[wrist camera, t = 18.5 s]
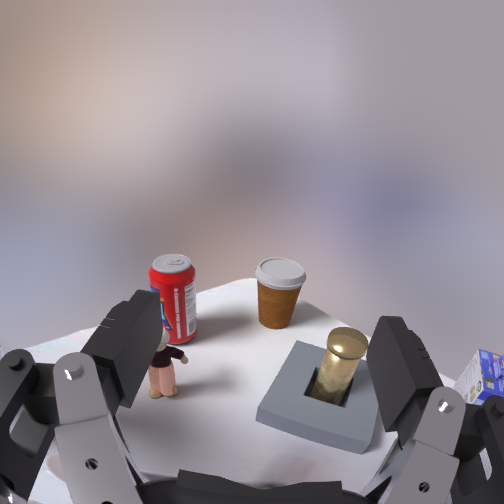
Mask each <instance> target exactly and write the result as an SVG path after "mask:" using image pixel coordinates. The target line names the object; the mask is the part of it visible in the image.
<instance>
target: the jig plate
mask: <svg viewBox="0 0 504 504" xmlns="http://www.w3.org/2000/svg"><path fill="white" fill-rule="evenodd" d="M326 350H327V349H324V348H320V347H317V346H314V345H311V344H307V343H304V342H301V341H298V340H297V341H296V343H295V345H294V346H293V348H292V350H291V352H290V354H289V355H288V357H287V359H286V361H285V362H284V364H283V366H282V368H281V369H280V371H279V373H278V375H277V376H276V378H275V380H274V381H273V383H272V385H271V386H270V388H269V390H268V391H267V393H266V395H265V396H264V398H263V400H262V401H261V403H260V404H259V406H258V409H257V415H256V421H258V422H260V423H263V424H266V425H268V426H271V427H273V428H276V429H279V430H282V431H284V432H287V433H290V434H293V435H296V436H299V437H302V438H305V439H308V440H311V441H314V442H318V443H321V444H324V445H328V446H331V447H335V448H338V449H342V450H346V451H350V452H354V453H358V454H362V453H363V452H364V451H365V450H366V448H367V447H368V446H369V445H370V443H371V440H372V436H373V431H374V427H375V422H376V417H377V412H378V407H379V405H378V401H377V397H376V393H375V390H374V386H373V382H372V379H371V375H370V372H369V368H368V365H367V361H365V360H362V359H360V361H359V363H358V366H357V368H356V370H355V373H354V375H353V377H352V379H351V381H350V383H349V386H348V388H347V390H346V392H347V396H346V399H345V403H344V406H343V407H340V406H337V405H333V404H330V403H326V402H323V401H320V400H317V399H314V398H311V397H307V396H305V394H306V392H307V389H308V387H309V385H310V383H311V381H313V382H316V379H317V376H318V373H319V370H320V367H321V365H322V362H323V359H324V356H325V353H326Z"/></svg>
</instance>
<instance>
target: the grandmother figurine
mask: <svg viewBox="0 0 504 504" xmlns="http://www.w3.org/2000/svg"><path fill="white" fill-rule="evenodd" d="M169 339H170V335H169V333H168V332H167V331H166V330H165V329H164V328H163V335H162V339H161V342H160V344H159V347H158V349H157V351H156V353H155V355H154V357H153V359H152V361H151V364H150V366H149V368H148V369H149V380H150V385H151V389H150V392H149V395H150V397H152V398H159V397H161V395H162V394H163V395H164V396H173V395H176V394H177V393H178V389H177V388H176V386H175V372H174V367H173V363H172V361H171V357H172V358H175V359H179V360H181V362H182V363H183V364H186V363H188V359H187V358H186V357H185V355H184V352H183V351H182V350H179V349H177V348H175V347H170V346H167V342H169Z"/></svg>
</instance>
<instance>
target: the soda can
mask: <svg viewBox="0 0 504 504" xmlns="http://www.w3.org/2000/svg"><path fill="white" fill-rule="evenodd" d="M148 275H149V286H150V291H151V292H157V293H159V296H160V304H161V313H162V322H163V328H164V329H165V330H166V331H167V332H168V333H169V335H170V339H169V342H167V343H171V344H180V343H185V342H187V341H189V340H191V339H192V338H193V337H194V336H195V334H196V332H197V318H196V282H195V280H196V279H195V269H194V267H193V266H192V265H191V260H190V259H189V258H188V257H186V256H183V255H180V254H165V255H162V256H159V257H157V258H155V259H154V260H153V261H152V266H151V268H150V270H149V272H148Z"/></svg>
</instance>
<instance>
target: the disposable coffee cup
mask: <svg viewBox="0 0 504 504" xmlns="http://www.w3.org/2000/svg"><path fill="white" fill-rule="evenodd" d="M255 274H256V277H257V284H258V309H259V321H260V323H261V324H262V325H264V326H265V327H268V328H271V329H281V328H284V327H286V326H287V325H288V324H289V322H290V319H291V316H292V313H293V310H294V307H295V304H296V301H297V298H298V295H299V292H300V289H301V286H302V284H303V283H304V282H305V280H306V274H305V270H304V268H303V266H302V265H301V264H299V263H297V262H296V261H293V260H290V259H286V258H267V259H264V260H262V261H261V262H260V263H259V265H258V267H257V268H256V270H255Z"/></svg>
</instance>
